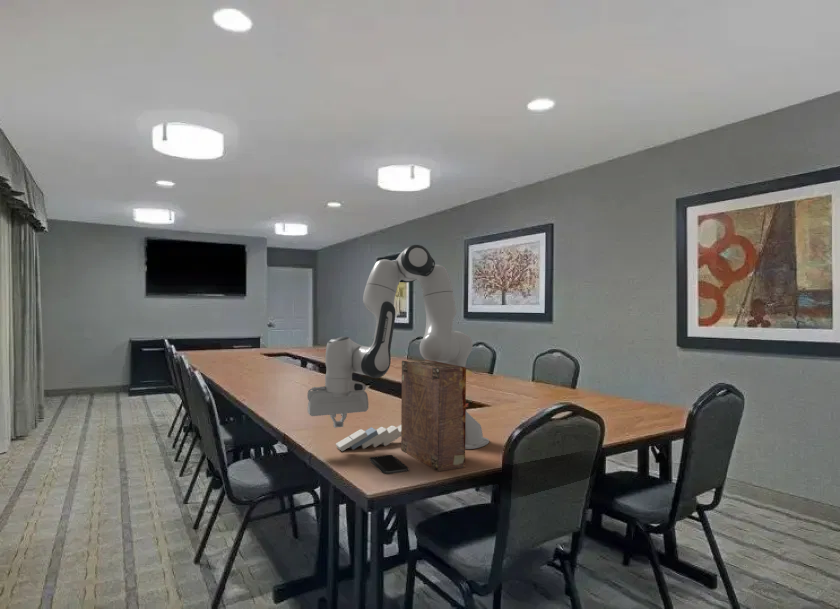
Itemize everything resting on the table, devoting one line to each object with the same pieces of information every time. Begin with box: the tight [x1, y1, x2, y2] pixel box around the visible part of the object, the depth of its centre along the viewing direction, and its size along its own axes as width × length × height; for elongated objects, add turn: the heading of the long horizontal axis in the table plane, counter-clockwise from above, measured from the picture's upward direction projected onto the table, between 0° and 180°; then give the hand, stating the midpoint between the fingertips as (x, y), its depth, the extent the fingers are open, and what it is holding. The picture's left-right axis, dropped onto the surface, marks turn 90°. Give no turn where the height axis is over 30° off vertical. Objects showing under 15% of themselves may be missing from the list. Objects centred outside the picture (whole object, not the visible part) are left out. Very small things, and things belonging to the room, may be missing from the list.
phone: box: [369, 454, 410, 475], centre depth 153 cm, size 8×1×15 cm
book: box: [400, 359, 467, 472], centre depth 161 cm, size 25×9×30 cm, turn 28°
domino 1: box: [335, 428, 367, 452], centre depth 172 cm, size 2×5×10 cm
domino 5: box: [380, 424, 401, 447], centre depth 178 cm, size 2×5×10 cm
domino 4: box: [370, 425, 399, 448], centre depth 177 cm, size 2×5×10 cm
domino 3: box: [359, 426, 389, 450], centre depth 175 cm, size 2×5×10 cm
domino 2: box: [349, 426, 378, 451], centre depth 174 cm, size 2×5×10 cm
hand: (338, 427), depth 170 cm, fingers closed
